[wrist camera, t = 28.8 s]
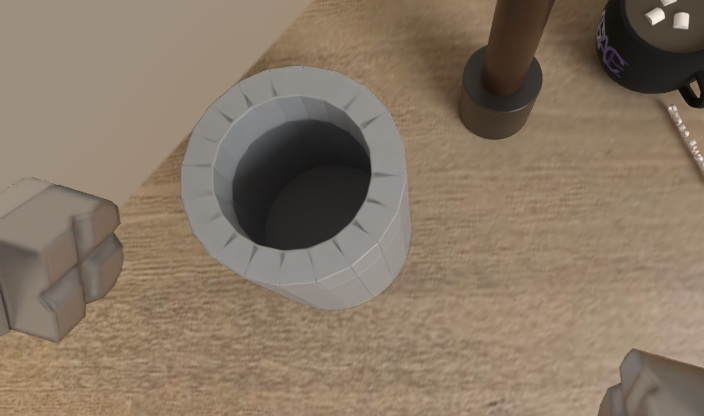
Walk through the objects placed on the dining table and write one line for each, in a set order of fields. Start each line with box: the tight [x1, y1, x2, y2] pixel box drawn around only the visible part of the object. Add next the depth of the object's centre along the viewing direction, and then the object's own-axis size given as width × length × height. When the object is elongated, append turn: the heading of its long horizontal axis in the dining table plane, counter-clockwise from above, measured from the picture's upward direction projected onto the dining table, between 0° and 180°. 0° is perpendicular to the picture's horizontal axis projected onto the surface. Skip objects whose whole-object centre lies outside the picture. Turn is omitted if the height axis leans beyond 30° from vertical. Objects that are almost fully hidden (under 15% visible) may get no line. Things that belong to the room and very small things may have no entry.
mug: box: [596, 0, 704, 172], centre depth 31 cm, size 12×6×8 cm, turn 20°
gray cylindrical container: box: [181, 65, 411, 310], centre depth 29 cm, size 9×9×12 cm
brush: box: [459, 0, 555, 140], centre depth 28 cm, size 4×4×16 cm
